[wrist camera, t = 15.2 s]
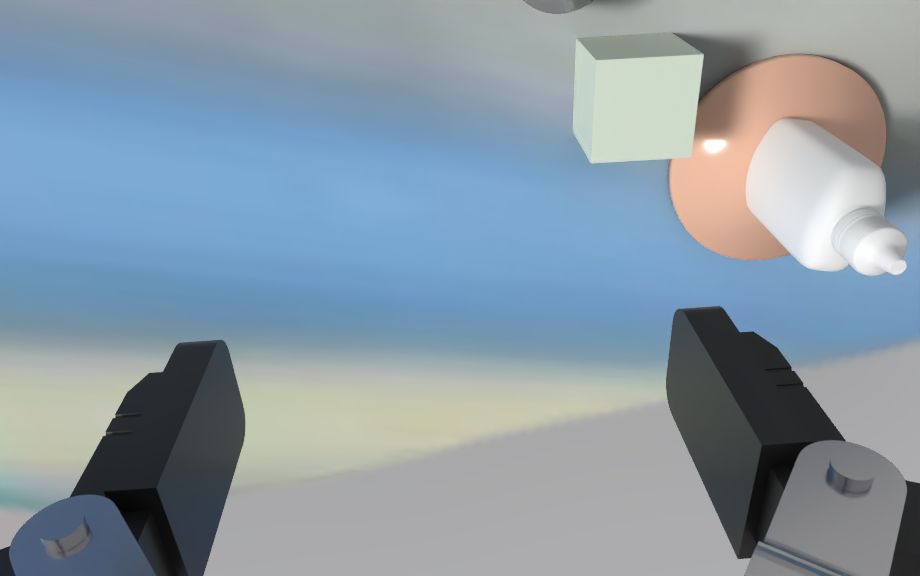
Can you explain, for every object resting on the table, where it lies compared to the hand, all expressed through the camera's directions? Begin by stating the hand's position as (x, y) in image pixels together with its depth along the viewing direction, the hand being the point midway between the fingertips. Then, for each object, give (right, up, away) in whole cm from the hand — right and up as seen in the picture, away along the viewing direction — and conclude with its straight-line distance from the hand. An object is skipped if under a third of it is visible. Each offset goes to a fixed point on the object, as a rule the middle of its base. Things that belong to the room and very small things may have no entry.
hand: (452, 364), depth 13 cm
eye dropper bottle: (+18, +8, +28) cm, 34 cm away
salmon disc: (+18, +9, +29) cm, 35 cm away
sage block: (+9, +12, +26) cm, 30 cm away
